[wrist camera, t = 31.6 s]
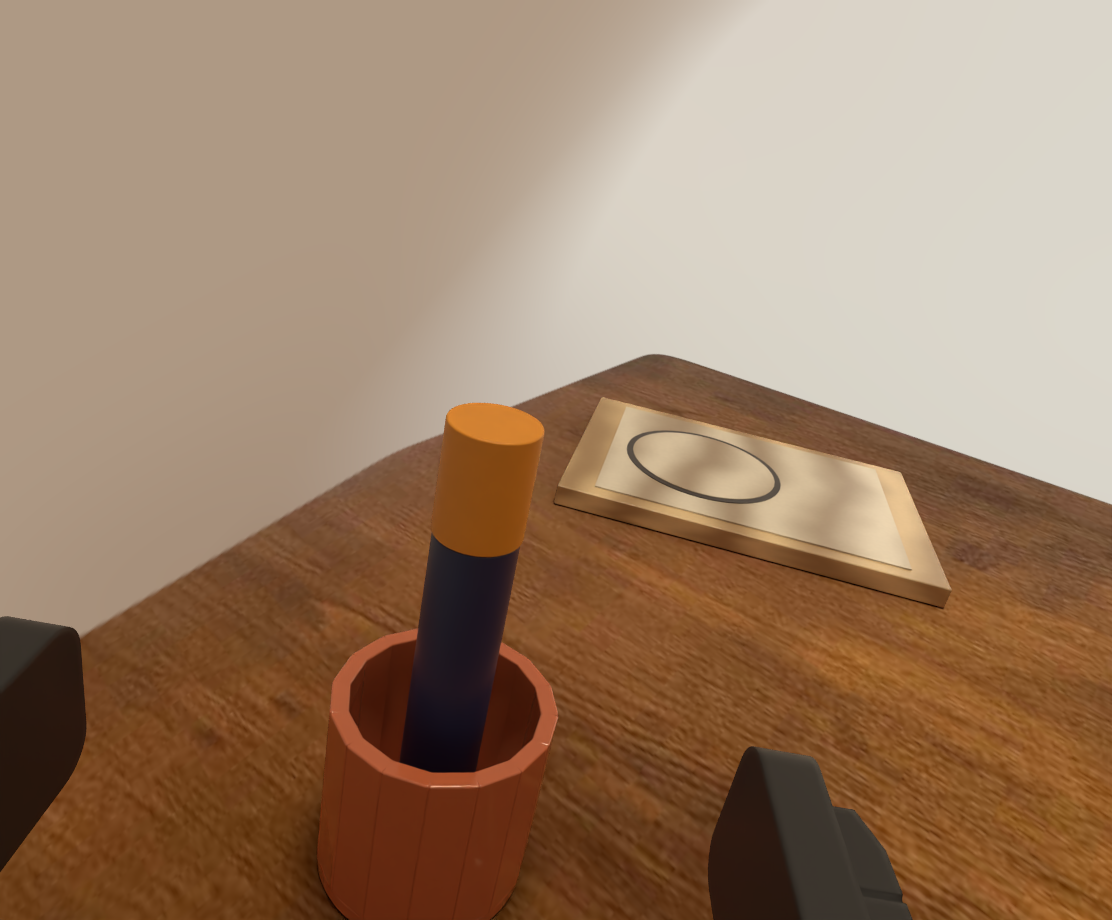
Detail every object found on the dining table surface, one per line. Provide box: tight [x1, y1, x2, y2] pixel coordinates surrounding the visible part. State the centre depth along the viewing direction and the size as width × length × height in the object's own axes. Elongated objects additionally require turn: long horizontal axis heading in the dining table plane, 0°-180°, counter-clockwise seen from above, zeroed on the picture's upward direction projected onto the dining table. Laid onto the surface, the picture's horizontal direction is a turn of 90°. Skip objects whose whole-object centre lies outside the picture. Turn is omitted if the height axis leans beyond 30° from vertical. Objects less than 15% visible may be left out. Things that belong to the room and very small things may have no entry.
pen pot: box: [317, 628, 558, 920], centre depth 24 cm, size 6×6×6 cm
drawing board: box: [554, 397, 952, 608], centre depth 53 cm, size 22×16×1 cm
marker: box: [399, 403, 544, 773], centre depth 22 cm, size 2×2×14 cm
